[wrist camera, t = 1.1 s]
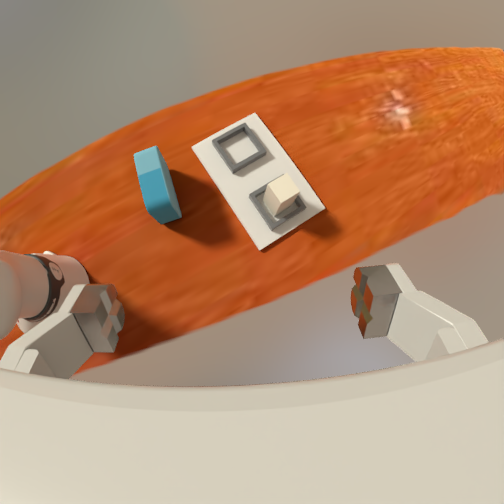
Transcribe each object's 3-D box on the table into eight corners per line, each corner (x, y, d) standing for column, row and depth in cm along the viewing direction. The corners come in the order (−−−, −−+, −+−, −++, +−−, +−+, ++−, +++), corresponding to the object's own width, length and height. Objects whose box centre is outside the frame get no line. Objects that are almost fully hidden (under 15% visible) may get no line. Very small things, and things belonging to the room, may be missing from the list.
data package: (148, 174, 64) (132, 150, 52) (168, 167, 64) (155, 142, 52) (162, 226, 63) (146, 211, 51) (183, 219, 63) (171, 202, 51)
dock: (259, 250, 63) (260, 248, 60) (192, 149, 65) (190, 142, 62) (323, 209, 65) (327, 205, 62) (254, 114, 67) (255, 107, 64)
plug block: (274, 216, 63) (281, 203, 53) (262, 200, 63) (267, 183, 53) (290, 206, 63) (300, 191, 53) (279, 190, 64) (286, 172, 54)
